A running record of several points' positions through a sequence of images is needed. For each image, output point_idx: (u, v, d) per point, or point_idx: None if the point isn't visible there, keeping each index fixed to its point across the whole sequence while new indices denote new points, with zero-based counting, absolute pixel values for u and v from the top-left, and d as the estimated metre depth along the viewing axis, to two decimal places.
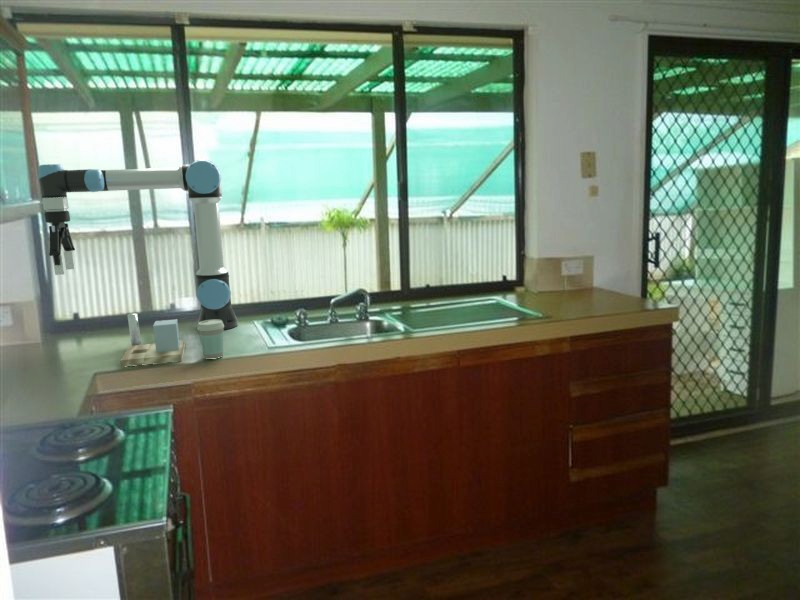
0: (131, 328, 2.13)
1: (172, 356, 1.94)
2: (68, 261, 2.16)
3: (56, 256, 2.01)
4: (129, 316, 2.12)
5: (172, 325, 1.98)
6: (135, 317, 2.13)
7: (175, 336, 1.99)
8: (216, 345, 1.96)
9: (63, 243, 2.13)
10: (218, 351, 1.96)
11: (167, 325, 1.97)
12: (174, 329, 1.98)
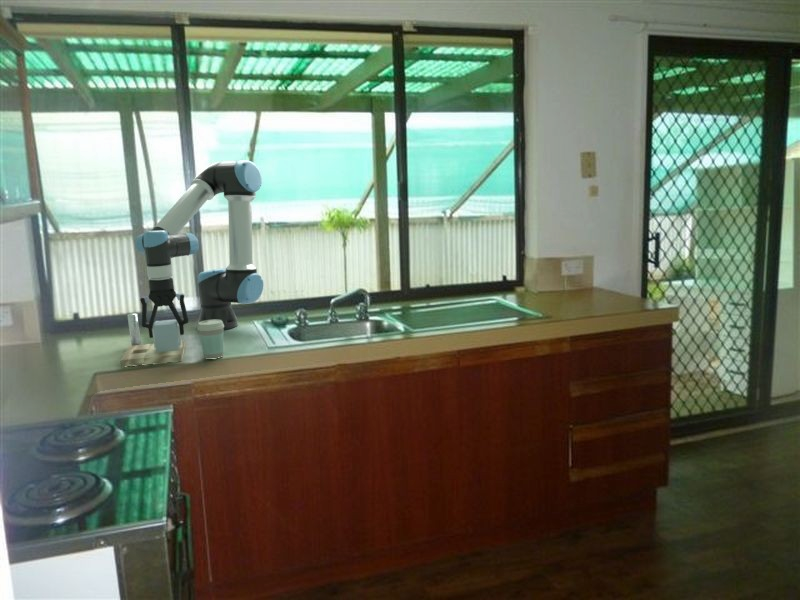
0: (131, 328, 2.13)
1: (172, 356, 1.94)
2: None
3: (148, 328, 1.99)
4: (129, 316, 2.12)
5: (172, 325, 1.98)
6: (135, 317, 2.13)
7: (175, 336, 1.99)
8: (216, 345, 1.96)
9: None
10: (218, 351, 1.96)
11: (167, 325, 1.98)
12: (174, 329, 1.98)
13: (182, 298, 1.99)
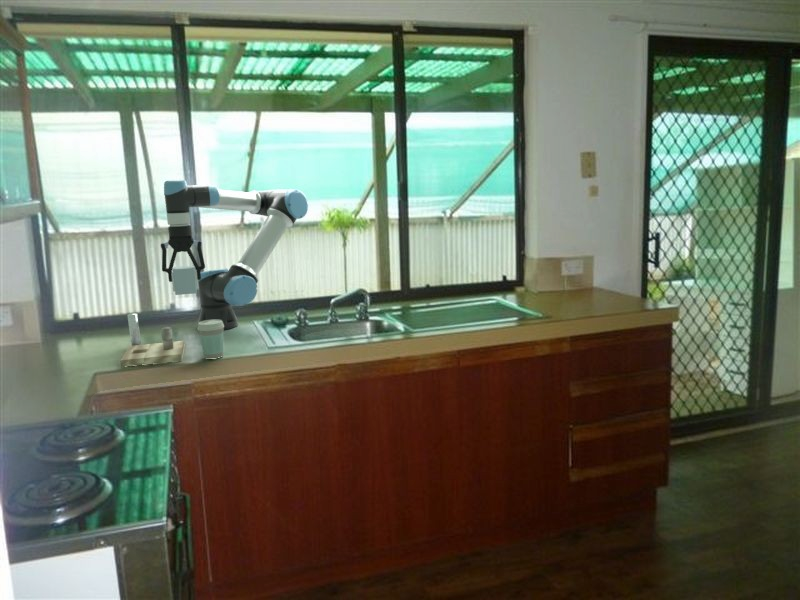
0: (131, 328, 2.13)
1: (172, 356, 1.94)
2: None
3: None
4: (129, 316, 2.12)
5: (190, 269, 2.11)
6: (135, 317, 2.13)
7: (193, 280, 2.12)
8: (216, 345, 1.96)
9: None
10: (218, 351, 1.96)
11: (185, 269, 2.10)
12: (192, 273, 2.11)
13: (199, 244, 2.12)
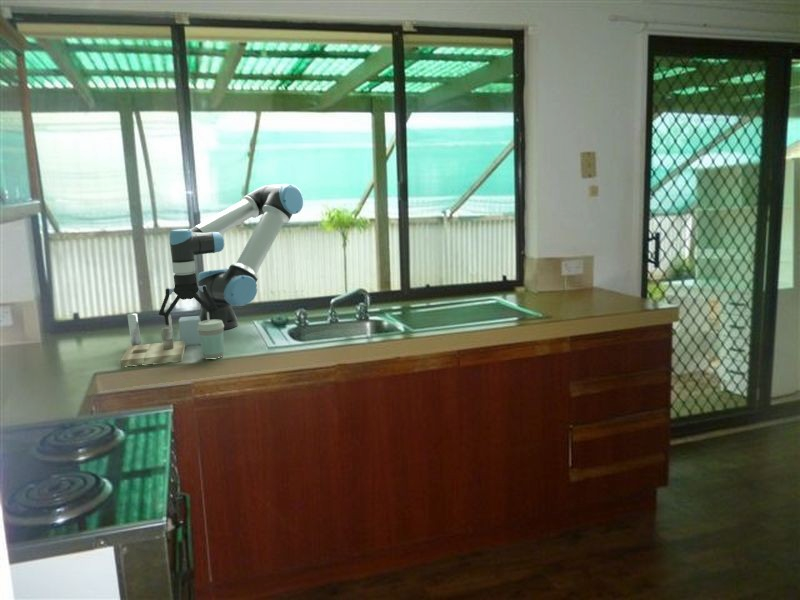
0: (131, 328, 2.13)
1: (172, 356, 1.94)
2: None
3: None
4: (129, 316, 2.12)
5: (196, 321, 2.14)
6: (135, 317, 2.13)
7: (198, 331, 2.15)
8: (216, 345, 1.96)
9: None
10: (218, 351, 1.96)
11: (191, 321, 2.14)
12: (197, 324, 2.15)
13: (205, 289, 2.15)
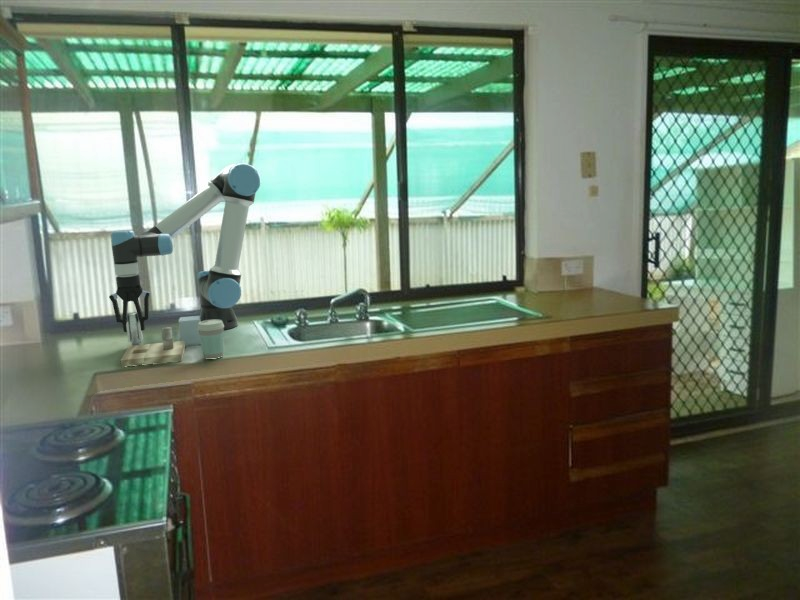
0: (131, 328, 2.13)
1: (172, 356, 1.94)
2: None
3: None
4: (129, 316, 2.12)
5: (196, 321, 2.14)
6: (135, 317, 2.13)
7: (198, 331, 2.15)
8: (216, 345, 1.96)
9: None
10: (218, 351, 1.96)
11: (191, 321, 2.14)
12: (197, 324, 2.15)
13: (147, 296, 2.12)
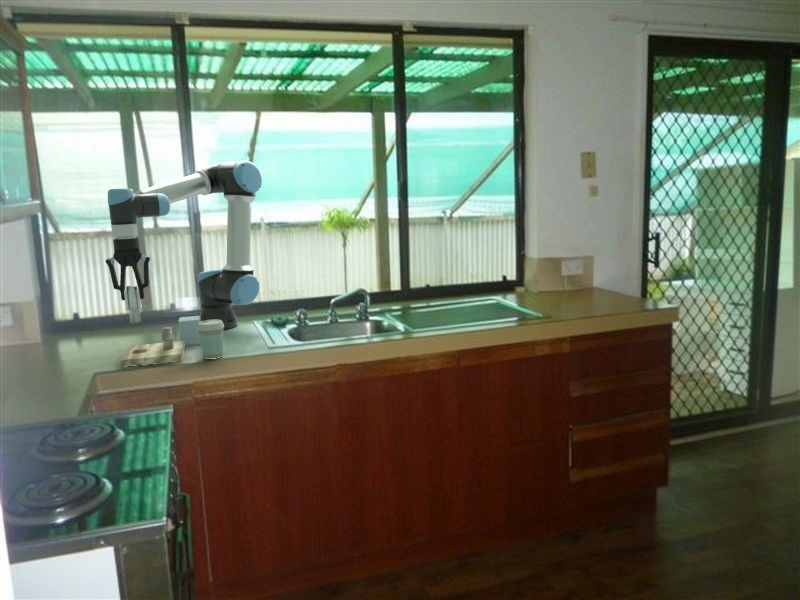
0: (130, 301, 1.95)
1: (172, 356, 1.94)
2: None
3: None
4: (128, 288, 1.94)
5: (196, 321, 2.14)
6: (135, 289, 1.95)
7: (198, 331, 2.15)
8: (216, 345, 1.96)
9: None
10: (218, 351, 1.96)
11: (191, 321, 2.14)
12: (197, 324, 2.15)
13: (147, 260, 1.94)
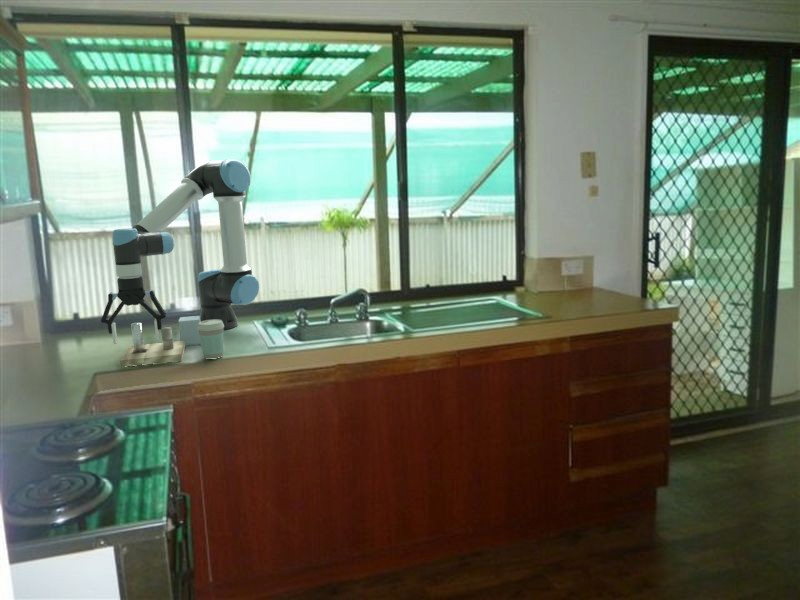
0: (135, 339, 1.97)
1: (172, 356, 1.94)
2: None
3: None
4: (133, 326, 1.97)
5: (196, 321, 2.14)
6: (139, 327, 1.97)
7: (198, 331, 2.15)
8: (216, 345, 1.96)
9: None
10: (218, 351, 1.96)
11: (191, 321, 2.14)
12: (197, 324, 2.15)
13: (152, 294, 1.97)
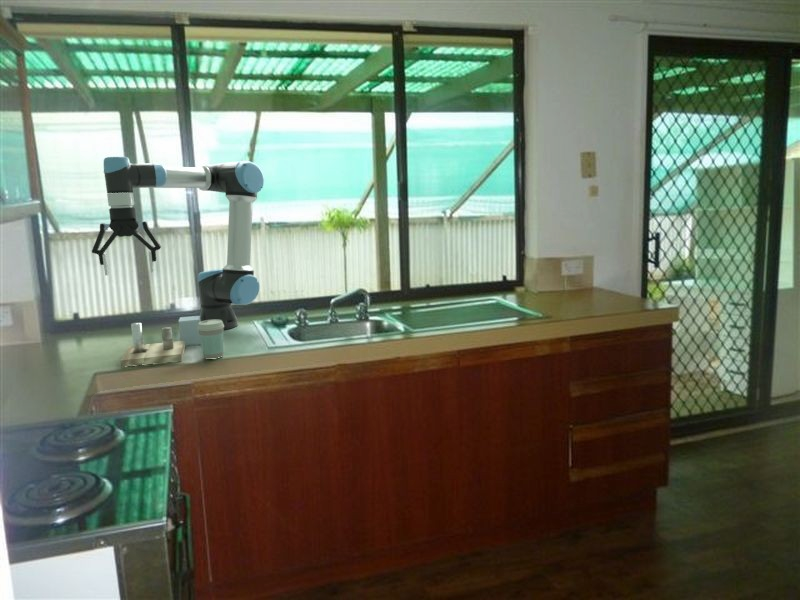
0: (135, 339, 1.97)
1: (172, 356, 1.94)
2: None
3: None
4: (133, 326, 1.97)
5: (196, 321, 2.14)
6: (139, 327, 1.97)
7: (198, 331, 2.15)
8: (216, 345, 1.96)
9: None
10: (218, 351, 1.96)
11: (191, 321, 2.14)
12: (197, 324, 2.15)
13: (145, 225, 1.92)
